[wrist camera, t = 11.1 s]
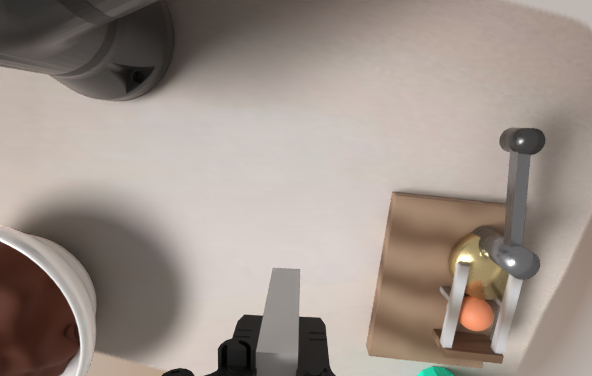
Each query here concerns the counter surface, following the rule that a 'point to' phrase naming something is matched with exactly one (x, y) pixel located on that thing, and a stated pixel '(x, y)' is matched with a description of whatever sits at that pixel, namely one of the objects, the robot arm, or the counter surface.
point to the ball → (475, 314)
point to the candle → (435, 372)
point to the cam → (494, 246)
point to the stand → (434, 285)
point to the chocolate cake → (44, 308)
